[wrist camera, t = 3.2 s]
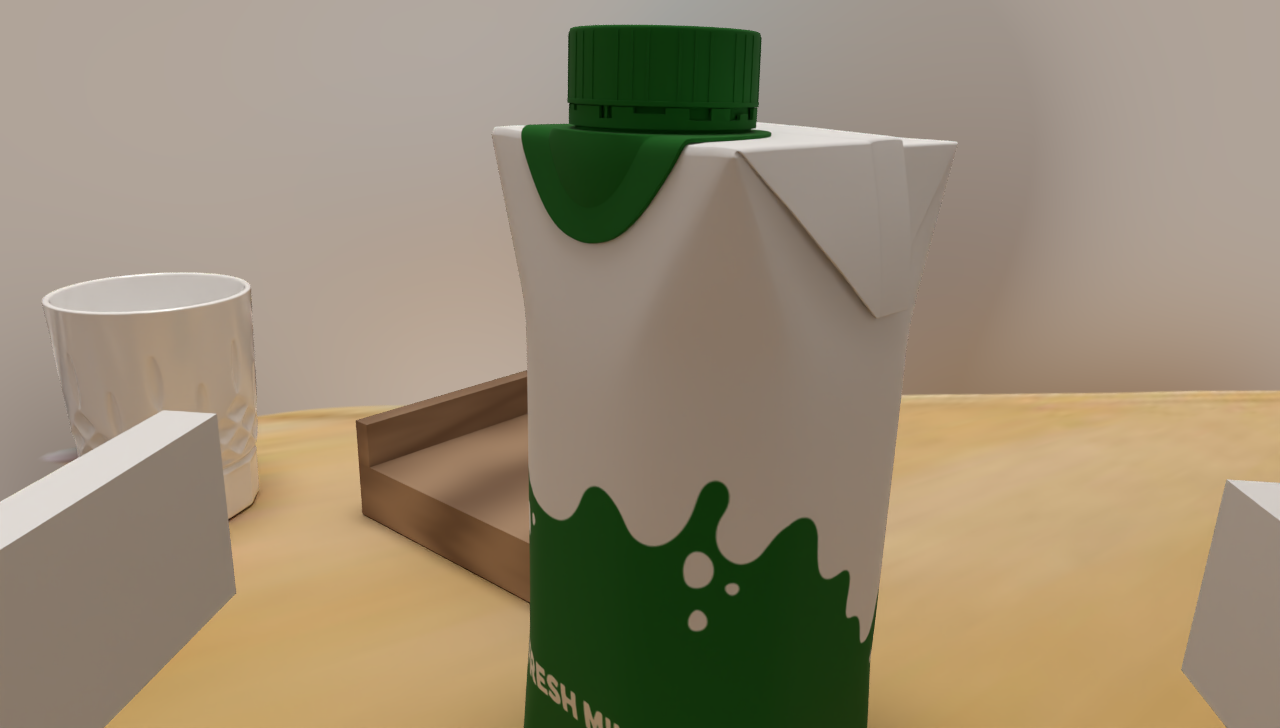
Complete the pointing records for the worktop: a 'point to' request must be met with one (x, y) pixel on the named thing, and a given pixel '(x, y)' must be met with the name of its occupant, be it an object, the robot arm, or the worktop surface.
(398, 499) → the wooden tray
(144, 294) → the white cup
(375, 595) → the worktop surface
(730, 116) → the white two-tone container
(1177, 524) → the worktop surface
